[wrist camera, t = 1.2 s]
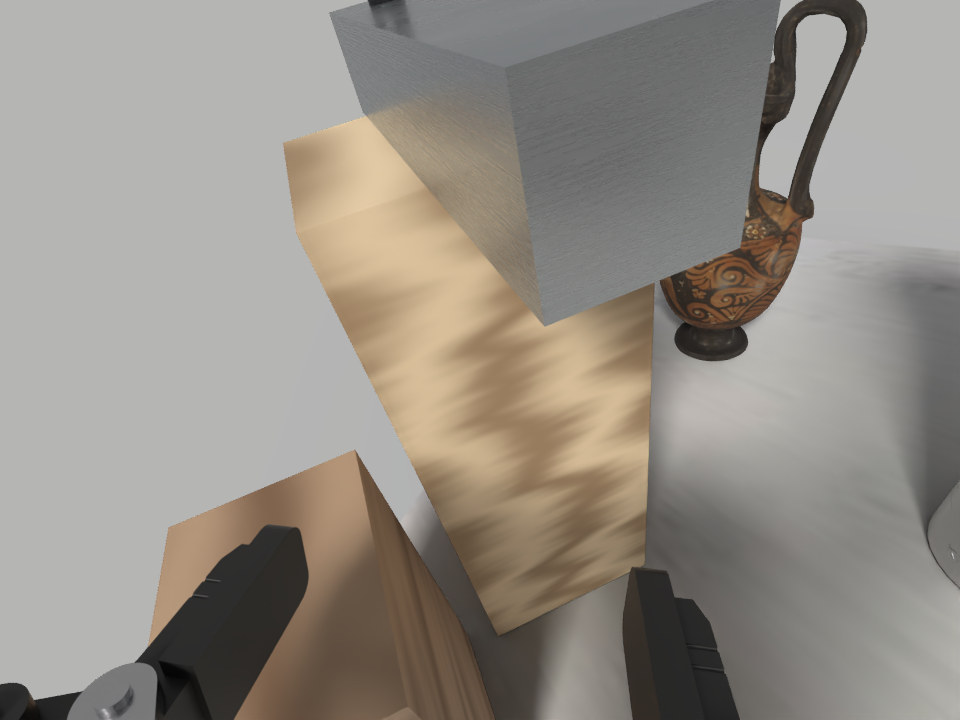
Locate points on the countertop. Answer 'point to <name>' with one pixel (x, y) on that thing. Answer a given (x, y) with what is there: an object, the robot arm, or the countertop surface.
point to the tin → (572, 129)
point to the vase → (763, 206)
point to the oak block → (484, 380)
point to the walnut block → (339, 605)
